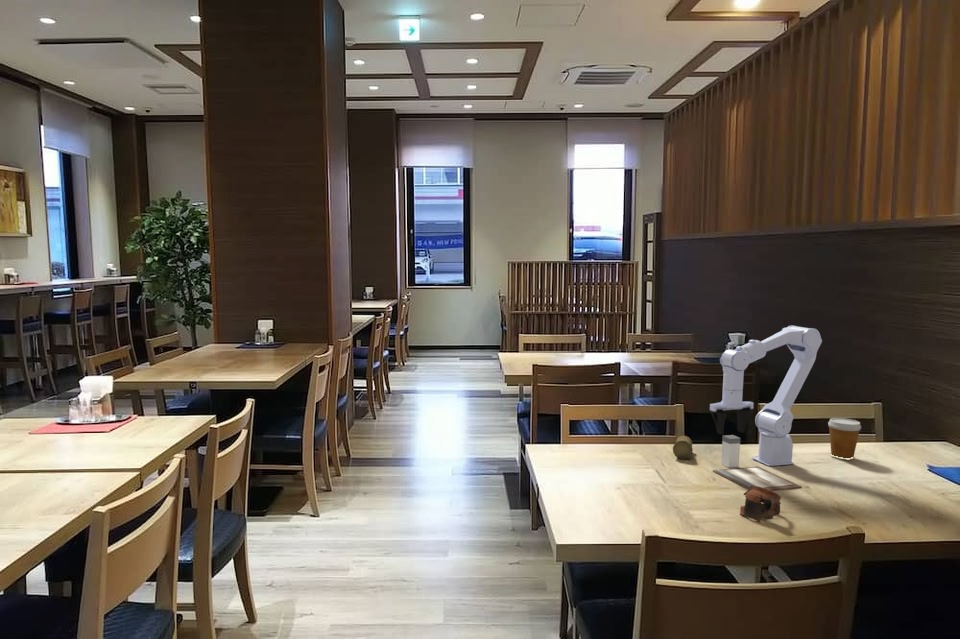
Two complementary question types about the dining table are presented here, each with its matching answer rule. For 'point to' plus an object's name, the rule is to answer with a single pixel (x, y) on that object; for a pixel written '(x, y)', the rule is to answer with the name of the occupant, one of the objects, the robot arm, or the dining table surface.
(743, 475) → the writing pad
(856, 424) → the disposable coffee cup
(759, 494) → the pottery mug
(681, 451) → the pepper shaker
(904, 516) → the dining table surface
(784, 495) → the dining table surface
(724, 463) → the long rectangular beam
